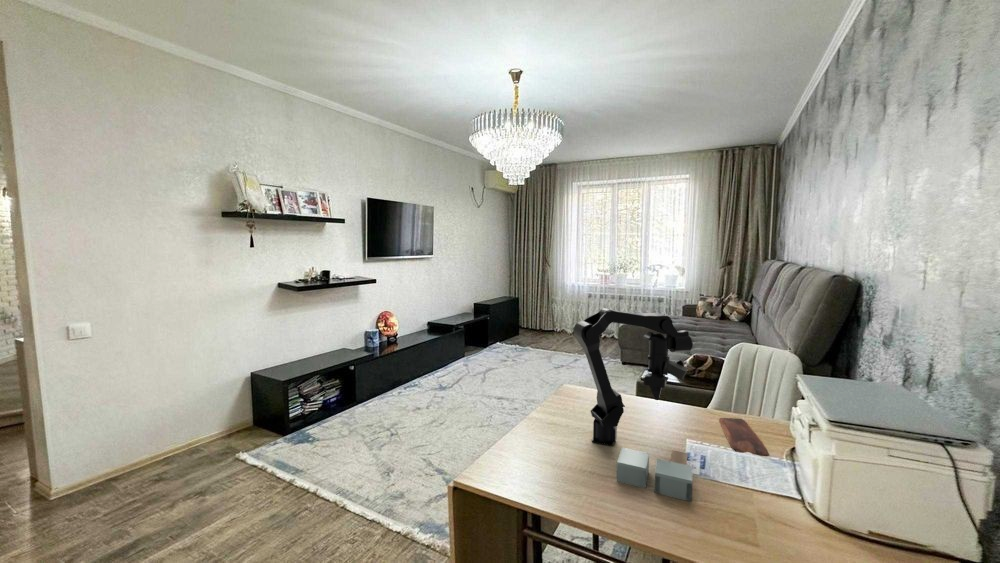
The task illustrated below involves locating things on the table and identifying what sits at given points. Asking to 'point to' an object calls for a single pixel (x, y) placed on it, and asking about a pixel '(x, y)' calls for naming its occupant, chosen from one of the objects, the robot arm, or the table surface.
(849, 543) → the table surface
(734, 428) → the wooden tablet
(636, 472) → the end cap
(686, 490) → the end cap
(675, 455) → the brown wooden bar
